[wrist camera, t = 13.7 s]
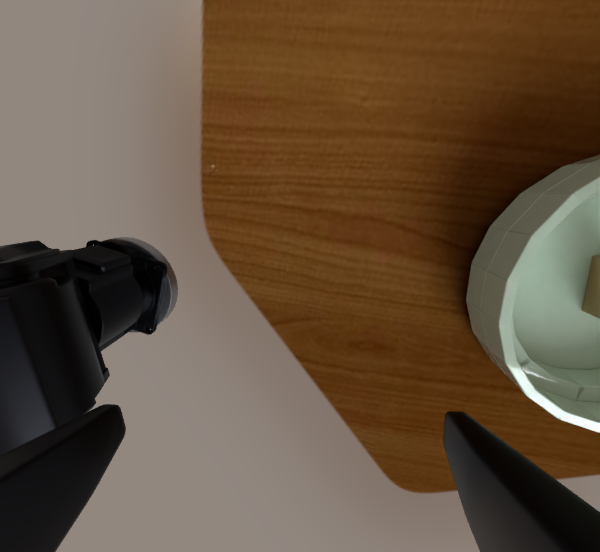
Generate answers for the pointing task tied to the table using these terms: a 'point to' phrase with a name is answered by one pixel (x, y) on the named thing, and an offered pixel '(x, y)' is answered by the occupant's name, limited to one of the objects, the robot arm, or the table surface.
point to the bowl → (544, 293)
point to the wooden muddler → (593, 289)
